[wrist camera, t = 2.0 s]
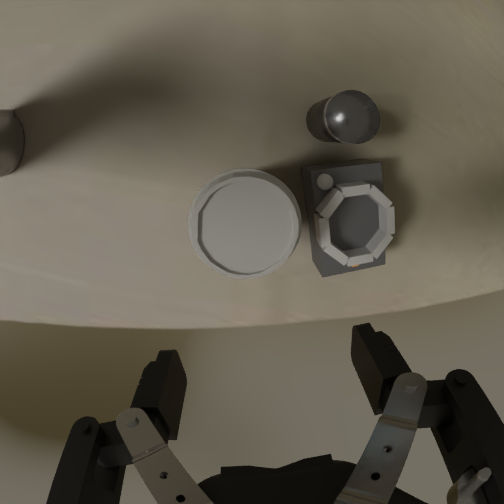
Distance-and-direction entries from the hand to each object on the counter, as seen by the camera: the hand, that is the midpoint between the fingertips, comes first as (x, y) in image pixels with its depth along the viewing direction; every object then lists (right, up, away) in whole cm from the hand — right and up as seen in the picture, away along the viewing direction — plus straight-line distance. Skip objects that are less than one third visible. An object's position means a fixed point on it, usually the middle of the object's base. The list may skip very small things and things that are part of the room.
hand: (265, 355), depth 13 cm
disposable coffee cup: (-2, +11, +22) cm, 25 cm away
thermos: (+8, +20, +19) cm, 29 cm away
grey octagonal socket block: (+10, +10, +23) cm, 27 cm away
